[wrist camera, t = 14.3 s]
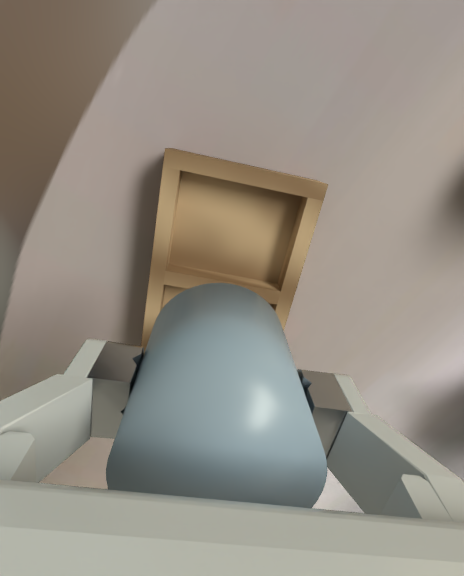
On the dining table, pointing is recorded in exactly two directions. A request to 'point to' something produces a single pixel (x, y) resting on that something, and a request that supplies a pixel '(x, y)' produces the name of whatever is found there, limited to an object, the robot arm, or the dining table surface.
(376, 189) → the dining table surface
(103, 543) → the robot arm
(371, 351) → the dining table surface
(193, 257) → the wooden tray
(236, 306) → the grey capsule
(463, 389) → the dining table surface
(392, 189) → the dining table surface
